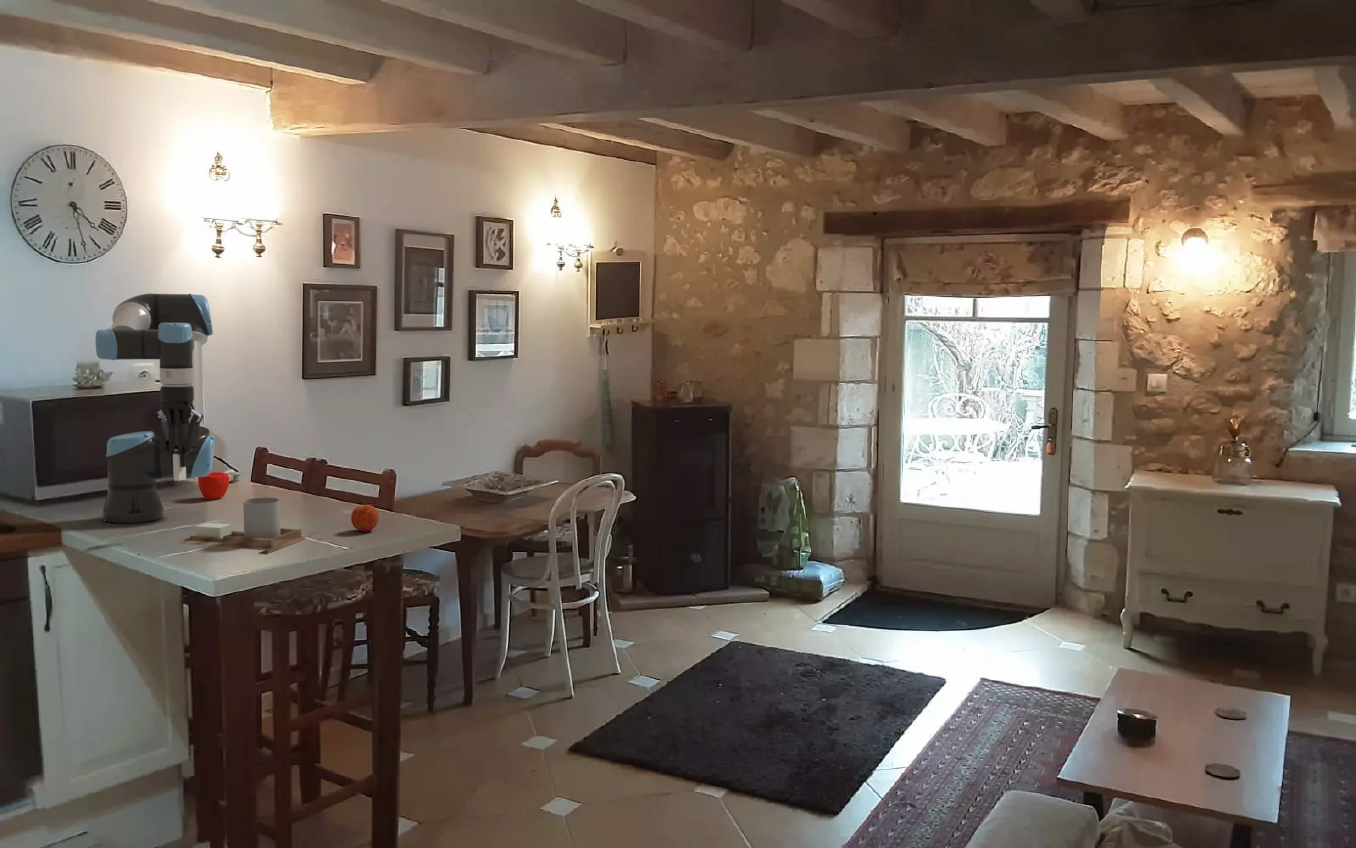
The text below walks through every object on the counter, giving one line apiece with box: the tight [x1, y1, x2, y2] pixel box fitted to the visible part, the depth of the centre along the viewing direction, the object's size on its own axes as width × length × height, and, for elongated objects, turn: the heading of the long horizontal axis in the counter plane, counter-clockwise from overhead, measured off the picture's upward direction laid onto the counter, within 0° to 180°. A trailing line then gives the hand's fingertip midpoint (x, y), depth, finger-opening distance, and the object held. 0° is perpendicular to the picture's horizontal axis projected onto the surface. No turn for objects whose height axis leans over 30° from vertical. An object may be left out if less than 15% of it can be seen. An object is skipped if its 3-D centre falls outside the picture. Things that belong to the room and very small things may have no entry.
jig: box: [180, 527, 306, 555], centre depth 268 cm, size 24×16×3 cm, turn 77°
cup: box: [242, 497, 281, 539], centre depth 267 cm, size 8×8×10 cm
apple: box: [197, 471, 230, 501], centre depth 326 cm, size 9×9×8 cm
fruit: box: [350, 500, 380, 533], centre depth 285 cm, size 7×7×8 cm
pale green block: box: [194, 522, 232, 538], centre depth 270 cm, size 7×4×3 cm, turn 77°
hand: (180, 479), depth 270 cm, fingers closed
